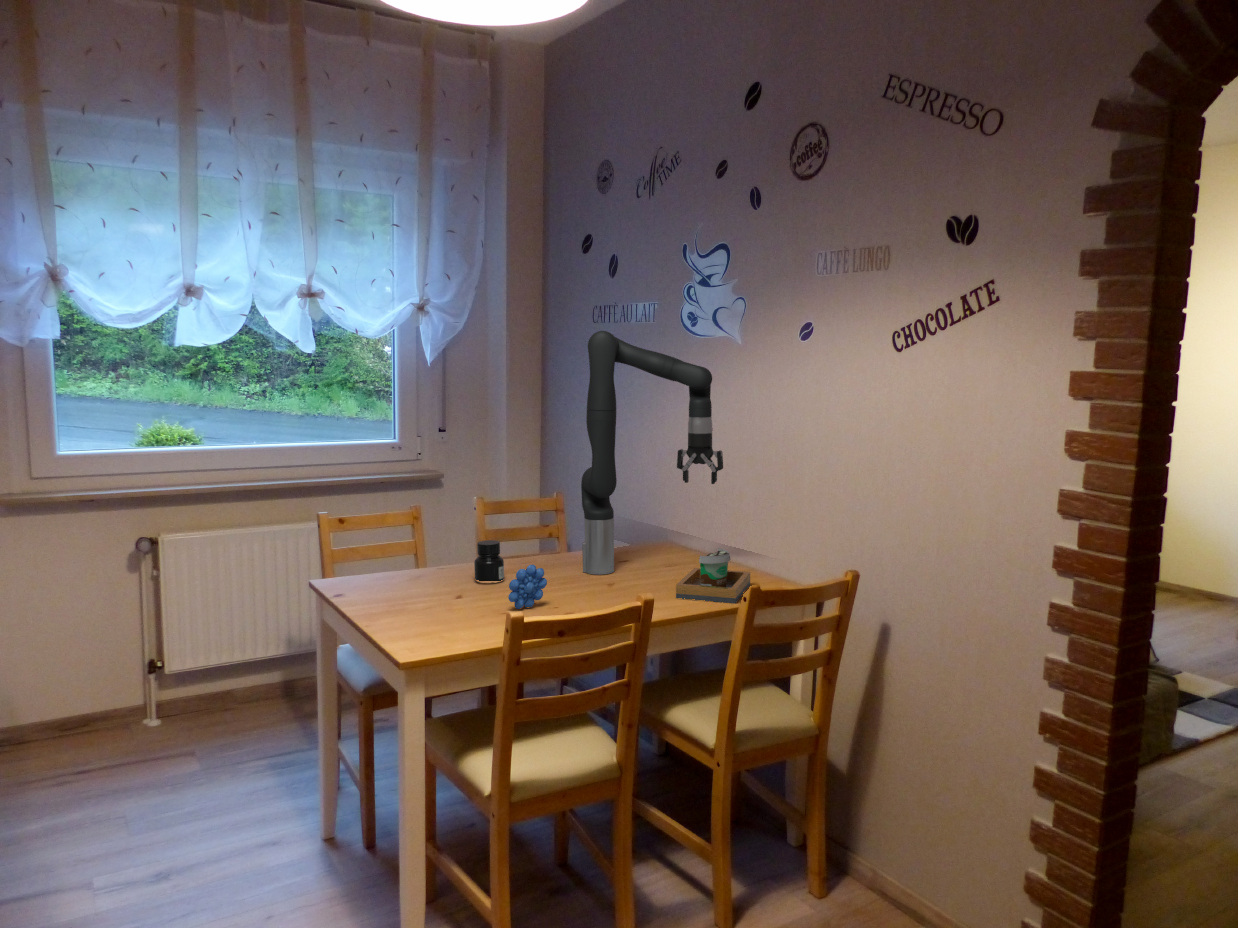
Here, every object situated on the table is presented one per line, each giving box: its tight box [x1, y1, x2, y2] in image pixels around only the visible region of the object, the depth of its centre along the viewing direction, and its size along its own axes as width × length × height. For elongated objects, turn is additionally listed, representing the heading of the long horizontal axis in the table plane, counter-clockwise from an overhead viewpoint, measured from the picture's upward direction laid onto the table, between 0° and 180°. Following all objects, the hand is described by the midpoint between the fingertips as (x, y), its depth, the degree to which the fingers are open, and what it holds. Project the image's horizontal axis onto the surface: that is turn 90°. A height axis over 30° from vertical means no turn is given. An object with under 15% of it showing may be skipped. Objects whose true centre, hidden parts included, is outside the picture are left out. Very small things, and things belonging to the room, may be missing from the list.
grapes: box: [507, 564, 548, 610], centre depth 248 cm, size 12×7×12 cm, turn 123°
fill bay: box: [675, 567, 751, 605], centre depth 263 cm, size 17×21×4 cm
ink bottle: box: [473, 539, 505, 581], centre depth 277 cm, size 10×9×12 cm
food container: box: [698, 547, 731, 587], centre depth 262 cm, size 12×6×10 cm, turn 147°
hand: (699, 483), depth 285 cm, fingers open, 8 cm apart
